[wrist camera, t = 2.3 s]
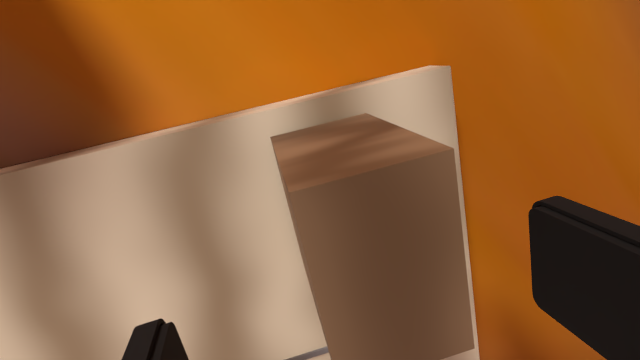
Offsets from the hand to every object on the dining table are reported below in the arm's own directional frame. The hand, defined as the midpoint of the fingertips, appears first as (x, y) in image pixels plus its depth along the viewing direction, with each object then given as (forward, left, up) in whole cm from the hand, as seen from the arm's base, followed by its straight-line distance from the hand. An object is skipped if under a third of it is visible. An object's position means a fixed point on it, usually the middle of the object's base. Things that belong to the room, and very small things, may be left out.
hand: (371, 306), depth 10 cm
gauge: (-1, +3, -7) cm, 8 cm away
